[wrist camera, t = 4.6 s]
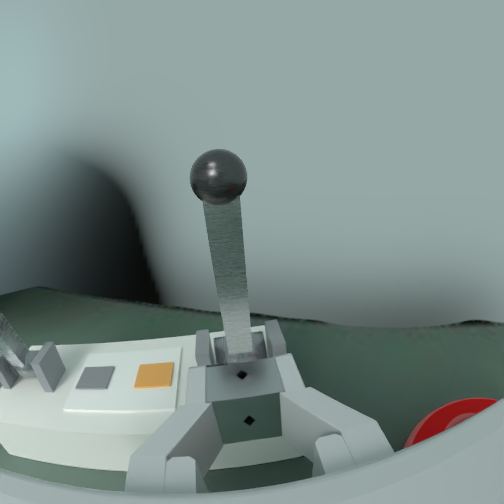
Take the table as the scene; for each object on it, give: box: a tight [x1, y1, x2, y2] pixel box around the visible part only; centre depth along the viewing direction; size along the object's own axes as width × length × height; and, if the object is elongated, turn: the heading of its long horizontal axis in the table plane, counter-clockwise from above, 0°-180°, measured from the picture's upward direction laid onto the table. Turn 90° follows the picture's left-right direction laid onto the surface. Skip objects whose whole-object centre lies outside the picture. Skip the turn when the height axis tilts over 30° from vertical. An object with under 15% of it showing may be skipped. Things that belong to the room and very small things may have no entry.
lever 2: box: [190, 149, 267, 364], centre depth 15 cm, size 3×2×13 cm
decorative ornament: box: [403, 397, 499, 449], centre depth 11 cm, size 10×10×3 cm
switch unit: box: [0, 319, 304, 471], centre depth 19 cm, size 22×10×6 cm, turn 97°
